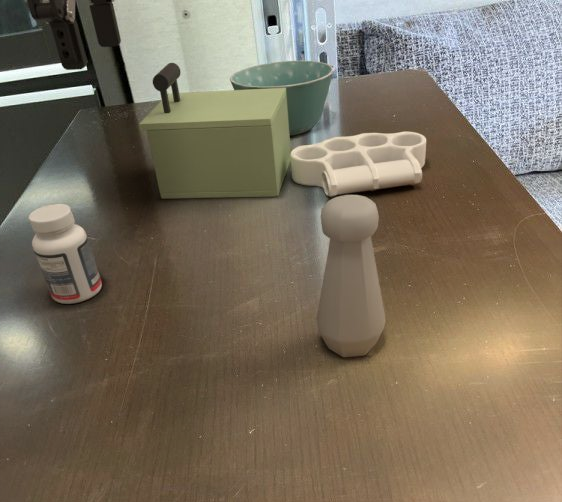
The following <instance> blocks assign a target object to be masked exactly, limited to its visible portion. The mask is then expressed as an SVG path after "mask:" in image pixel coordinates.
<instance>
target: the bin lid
mask: <svg viewBox="0 0 562 502" xmlns="http://www.w3.org/2000/svg"><path fill="white" fill-rule="evenodd" d="M181 72H182V71H181V68H180V66H179V65H178V64H177V63H175V62H169V63H167V64H166V65H165V66H164V67H163V68H162V69H160V71H158V72H157V73H156V74H155V75H154V77H153V78H152V86H153V87H154V89H155V90H156V91H158V92H159V94H160V99H161V100H160V101H159V102H158V103H157V104H156V106H155V107H153V109H152V110H151V111H150V112H148V114H147V115H145V117H144V118H143V119H141V121H140V122H139V123H138V127H139V131H147V130H165V129H191V128H216V127H242V126H268V125H272V123H273V121H274V119H275V116H276V114H277V112H278V110H279V108H280V106H281V104H282V102H283V100H284V98H285V95H286V88H270V89H249V90H234V89H231V90H230V89H229V90H211V91H210V90H209V91H189V92H180V90H179V85H178V79H179V78H180V76H181ZM169 88H170V89H171V92H169V93H168V89H169Z"/></svg>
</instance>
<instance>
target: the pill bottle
mask: <svg viewBox="0 0 562 502" xmlns="http://www.w3.org/2000/svg"><path fill="white" fill-rule="evenodd" d="M28 221H29V224H30V227H31V229H32V231H33V232H34V234H35V235H34V236H33V238H32V241H31V246H32V250H33V252H34V254H35V257H36V260H37V262H38V265H39V268H40V271H41V273H42V275H43V278H44V281H45V283H46V286H47V288H48V291H49V294H50V296H51V298H52V299H53V300H54V301H55V302H57V303H60V304H63V305H73V304H79V303H82V302H84V301H85V302H86V301H88V300H89V299H91V298H93V297H95V296H96V295H97V294H98V293H99V292H100V291H101V289H102V286H103V283H102V279H101V275H100V272H99V270H98V266H97V264H96V260H95V257H94V253H93V251H92V248H91V245H90V241H89V238H88V236H87V232H86V231H85V230H84V228H83V227H81V225H79V224H76V223H75V222H76V220H75V218H74V215H73V211H72V209H71V207H70V206H69V205H67V204H63V203H53V204H47V205H43V206H40V207H38V208H36V209H35V210H33V211H31V212H30V214H29V215H28Z"/></svg>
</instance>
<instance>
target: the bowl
mask: <svg viewBox="0 0 562 502" xmlns="http://www.w3.org/2000/svg"><path fill="white" fill-rule="evenodd" d="M333 74H334V68H333V66H332V65H330V64H329V63H326V62H322V61H316V60H282V61H281V60H280V61H275V62H274V61H273V62H267V63H262V64H257V65H252V66H250V67H246V68H243V69H241V70H237V71H236V72H234V73H233V74H232V75H231V76H230V78H229V81H230V83H231V86H232V88H233V90H249V89H270V88H286V95H287V109H288V122H289V135H290V136H296V135H301V134H304V133H307V132H308V131H310V130H311V129H313V127H315V125H316V124H317V123H318V122H319V121H320V119H321V117H322V115H323V111H324V108H325V104H326V101H327V98H328V94H329V90H330V86H331V82H332V80H333V79H332V78H333Z"/></svg>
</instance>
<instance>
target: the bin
mask: <svg viewBox="0 0 562 502" xmlns="http://www.w3.org/2000/svg"><path fill="white" fill-rule="evenodd" d="M146 135H147V140H148V144H149V149H150V154H151V159H152V163H153V167H154V172H155V176H156V182H157V186H158V190H159V193H160V199H161V200H163V199H164V200H165V199H213V198H215V199H216V198H217V199H218V198H221V199H222V198H265V197H272V198H273V197H279V194H280V192H281V189H282V187H283V184H284V180H285V178H286V175H287V172H288V170H289V167H290V165H291V159H290V154H291V152H292V150H291V149H292V148H291V138H290V135H289V122H288V109H287V95H285V98H284V100H283V102H282V104H281V106H280V108H279V110H278V112H277V114H276V116H275V119H274V121H273V123H272V125H268V126H242V127H216V128H191V129H165V130H146Z"/></svg>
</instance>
